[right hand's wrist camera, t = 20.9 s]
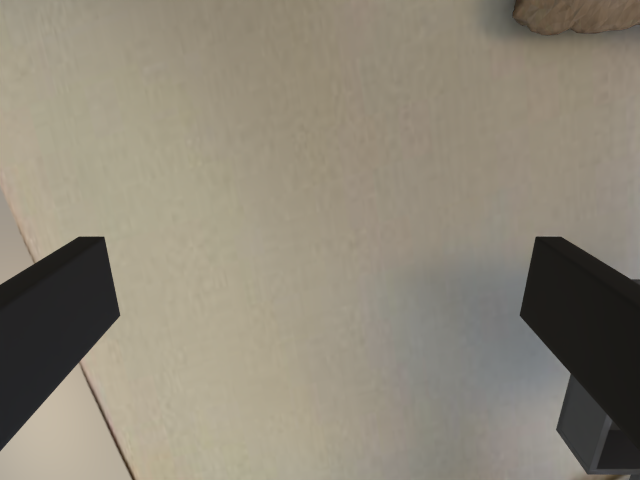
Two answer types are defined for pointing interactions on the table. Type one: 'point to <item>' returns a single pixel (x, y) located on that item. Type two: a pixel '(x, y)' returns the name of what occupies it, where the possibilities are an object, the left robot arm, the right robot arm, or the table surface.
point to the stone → (577, 15)
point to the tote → (595, 435)
